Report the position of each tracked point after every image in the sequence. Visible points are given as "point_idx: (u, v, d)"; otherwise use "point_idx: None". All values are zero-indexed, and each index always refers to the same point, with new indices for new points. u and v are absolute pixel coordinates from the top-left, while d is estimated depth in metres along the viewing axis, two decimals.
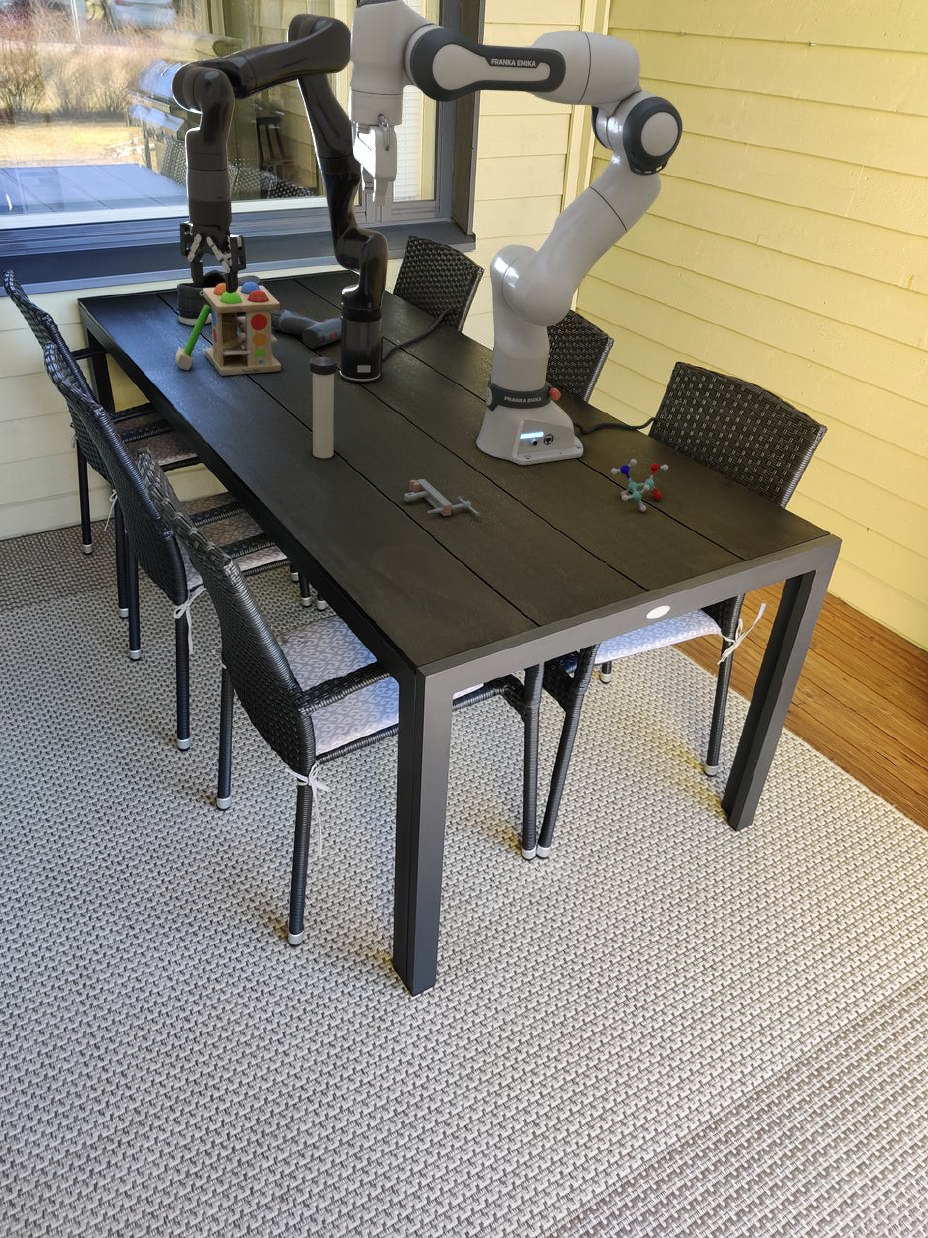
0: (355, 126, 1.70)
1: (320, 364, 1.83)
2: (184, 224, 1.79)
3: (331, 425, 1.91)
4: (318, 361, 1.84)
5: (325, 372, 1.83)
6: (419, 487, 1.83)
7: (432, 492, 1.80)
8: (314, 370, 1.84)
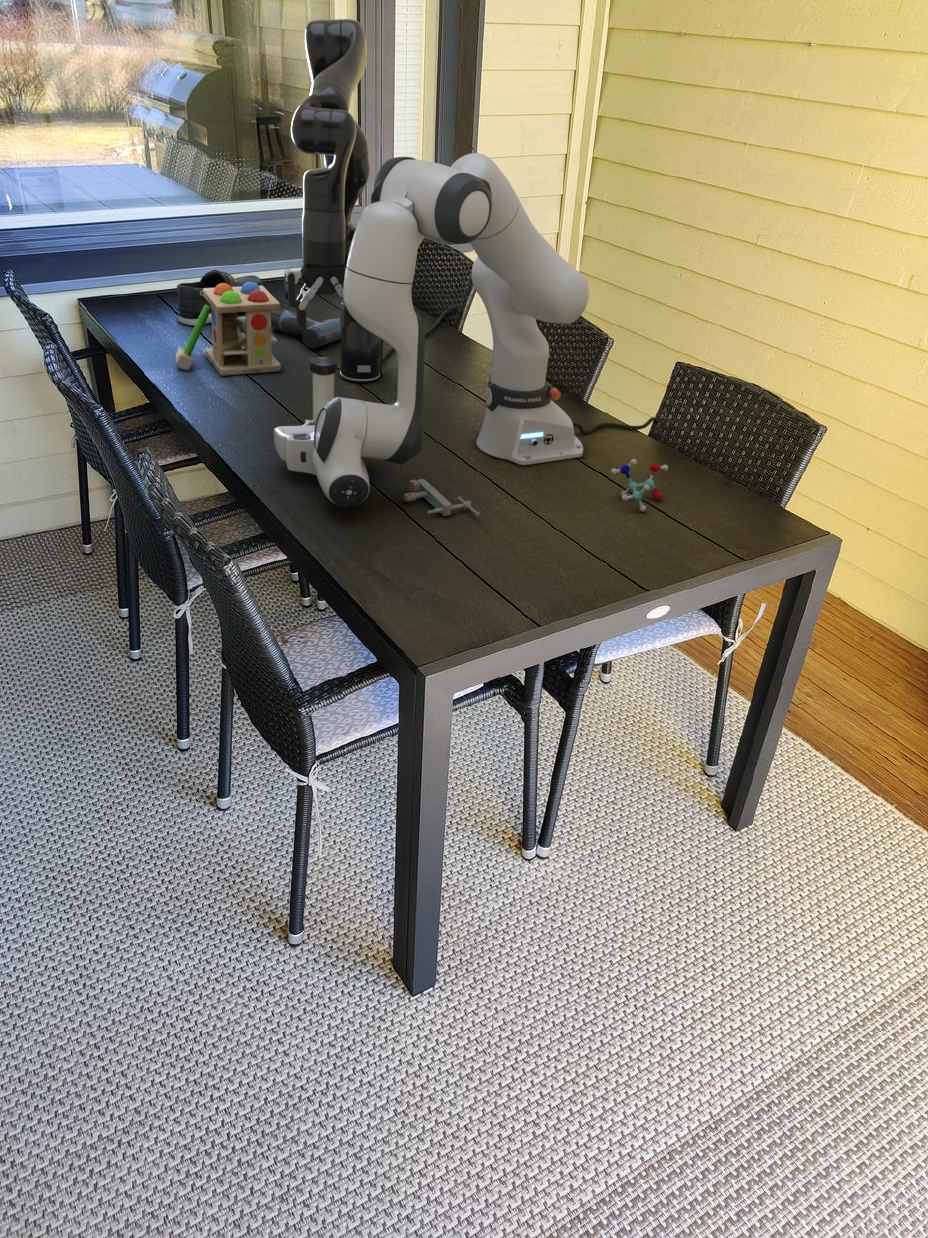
0: None
1: (320, 364, 1.83)
2: (293, 273, 1.72)
3: None
4: (318, 361, 1.84)
5: (325, 372, 1.83)
6: (419, 487, 1.83)
7: (432, 492, 1.80)
8: (314, 370, 1.84)
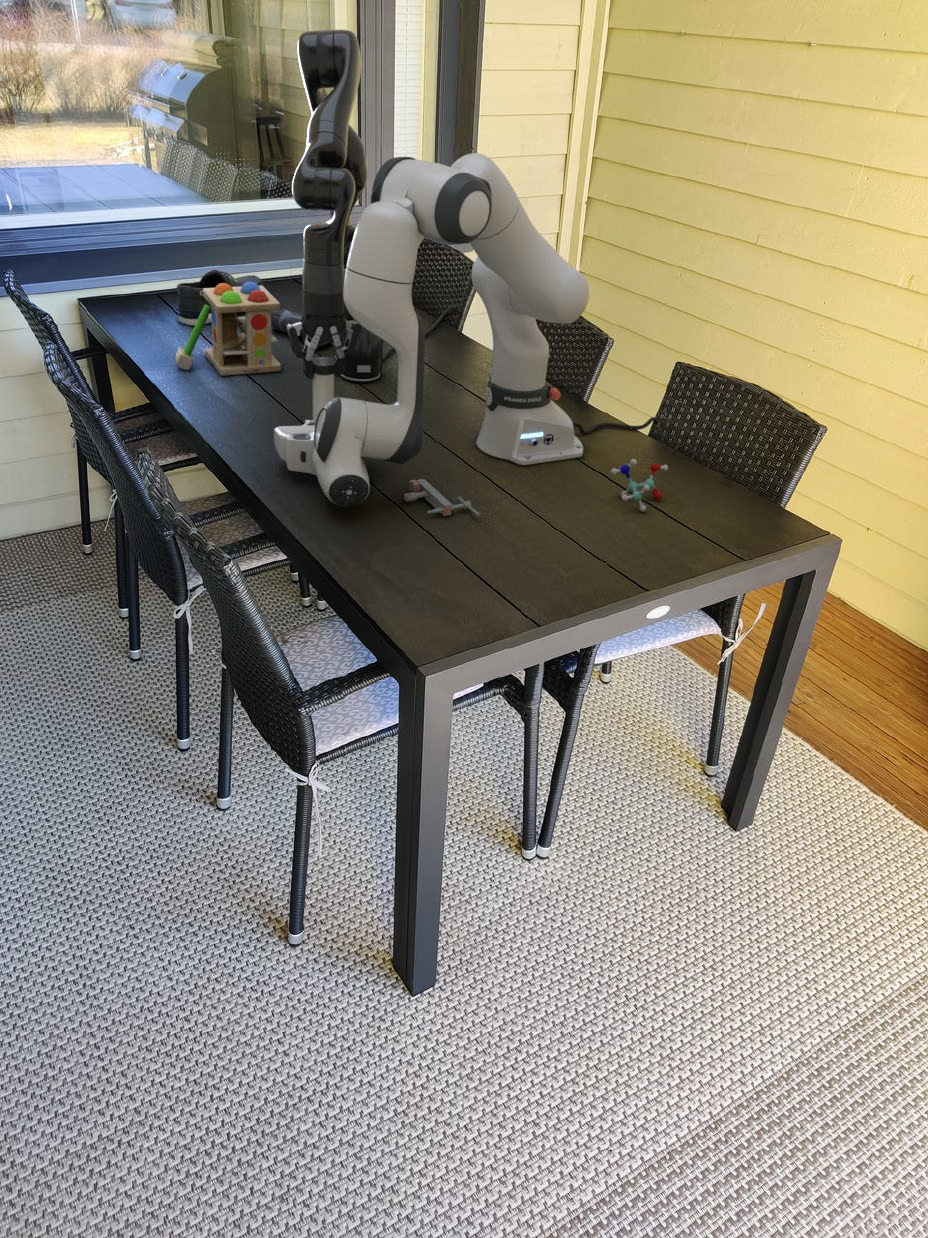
0: None
1: (320, 364, 1.83)
2: (293, 327, 1.78)
3: None
4: (318, 361, 1.84)
5: (325, 372, 1.83)
6: (419, 487, 1.83)
7: (432, 492, 1.80)
8: (314, 370, 1.84)
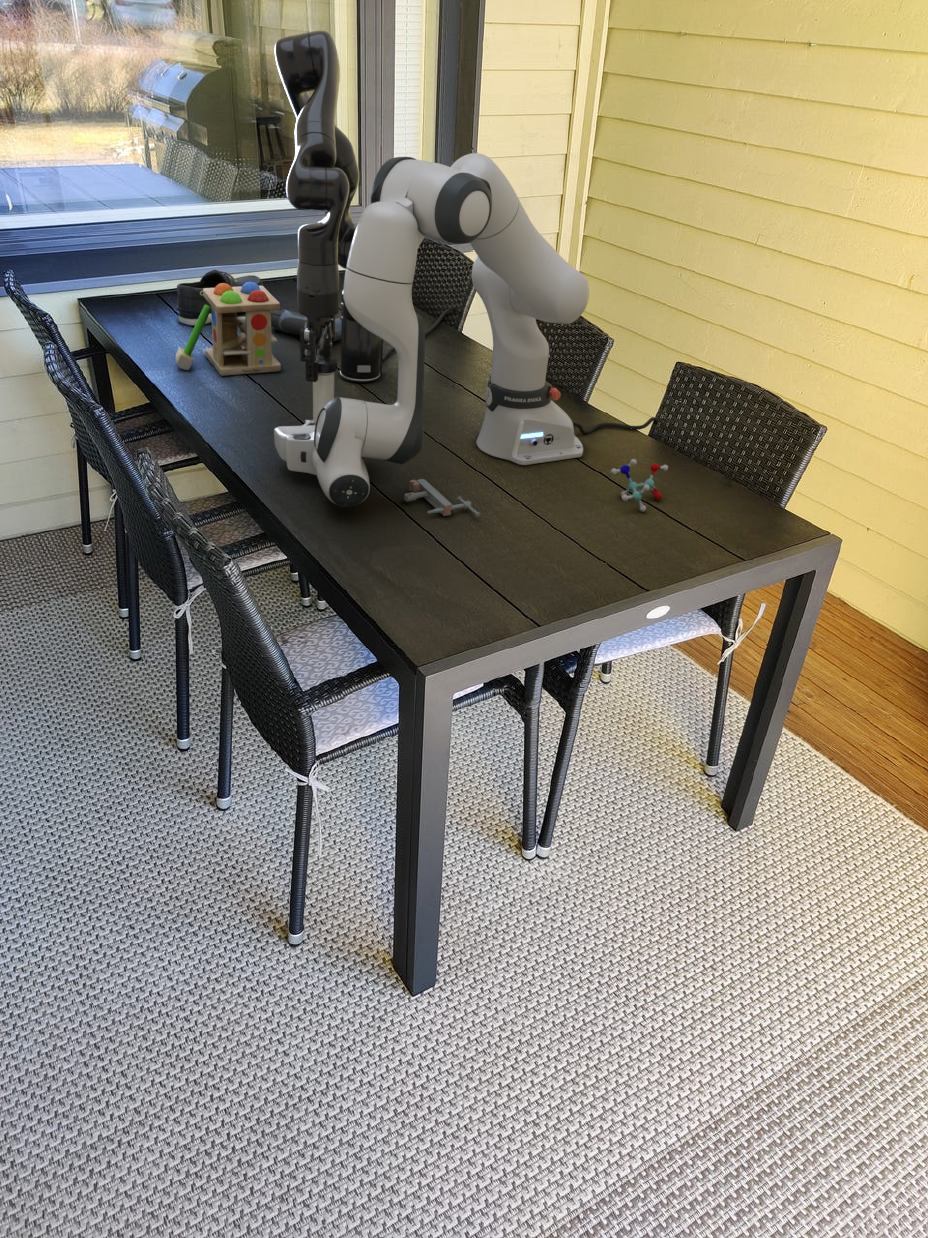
0: None
1: (333, 360, 1.85)
2: (313, 330, 1.76)
3: None
4: (326, 361, 1.84)
5: None
6: (419, 487, 1.83)
7: (432, 492, 1.80)
8: (335, 368, 1.84)
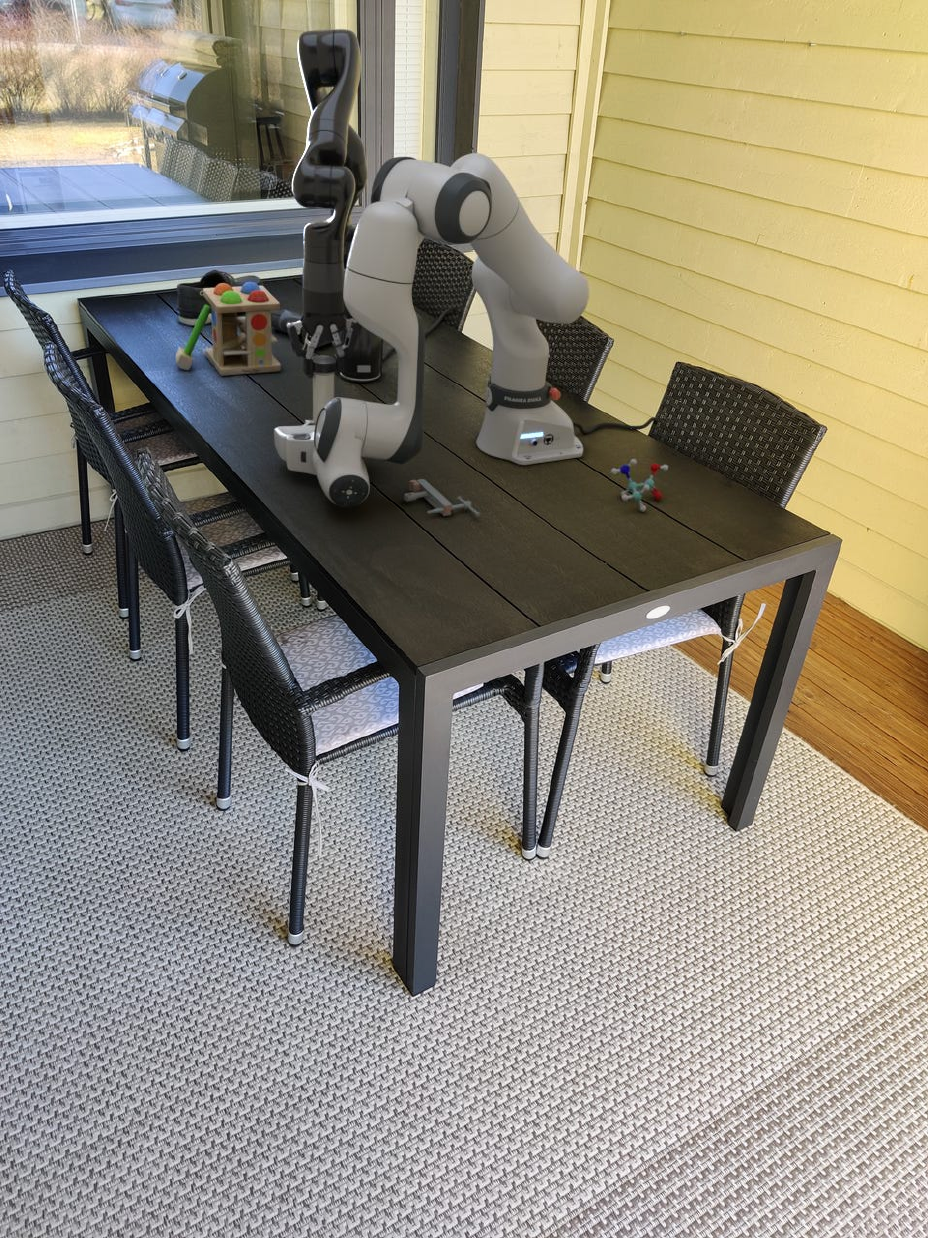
0: None
1: (333, 360, 1.85)
2: (293, 325, 1.78)
3: None
4: (326, 361, 1.84)
5: None
6: (419, 487, 1.83)
7: (432, 492, 1.80)
8: (335, 368, 1.84)
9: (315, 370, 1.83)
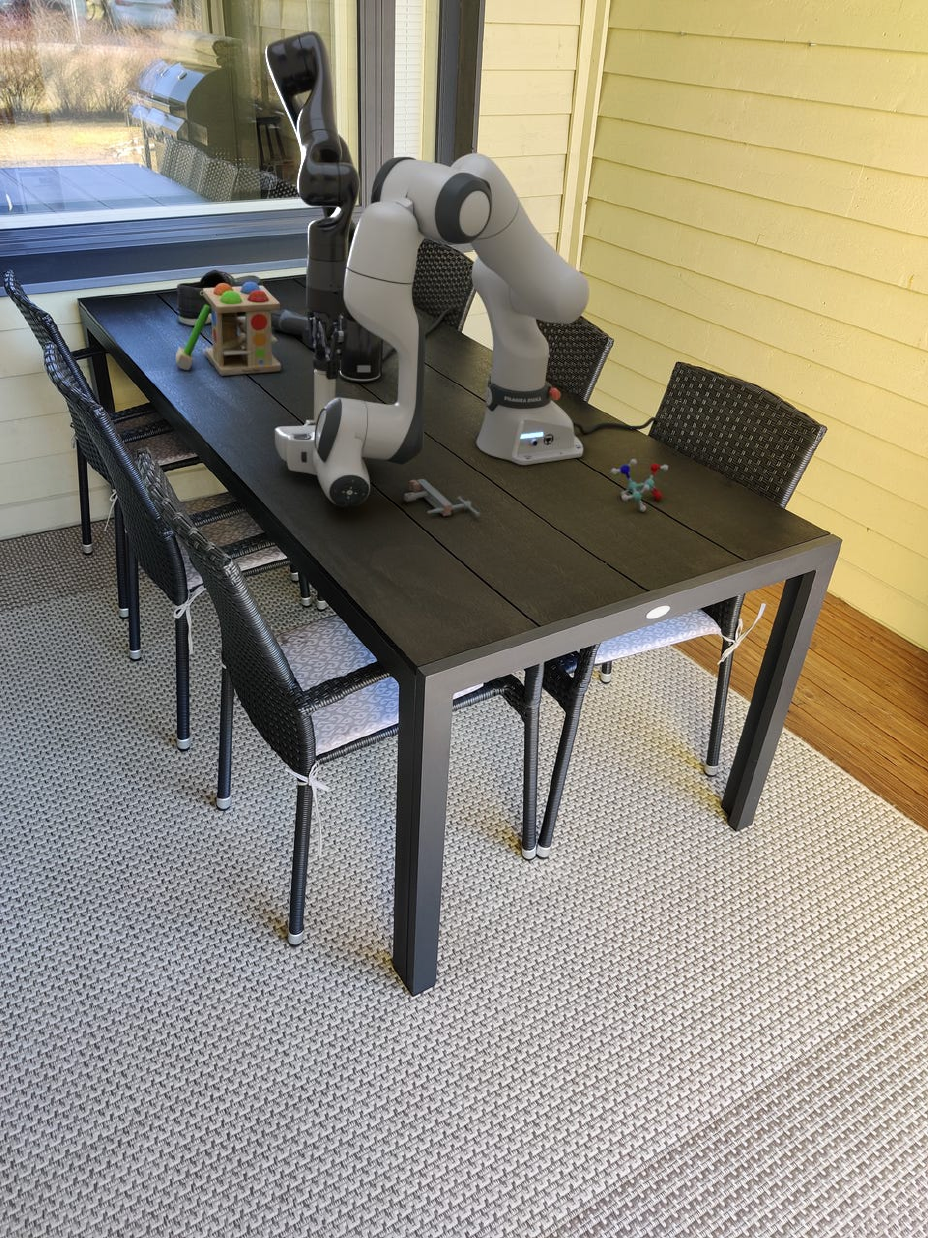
0: None
1: None
2: None
3: None
4: None
5: None
6: (419, 487, 1.83)
7: (432, 492, 1.80)
8: None
9: None
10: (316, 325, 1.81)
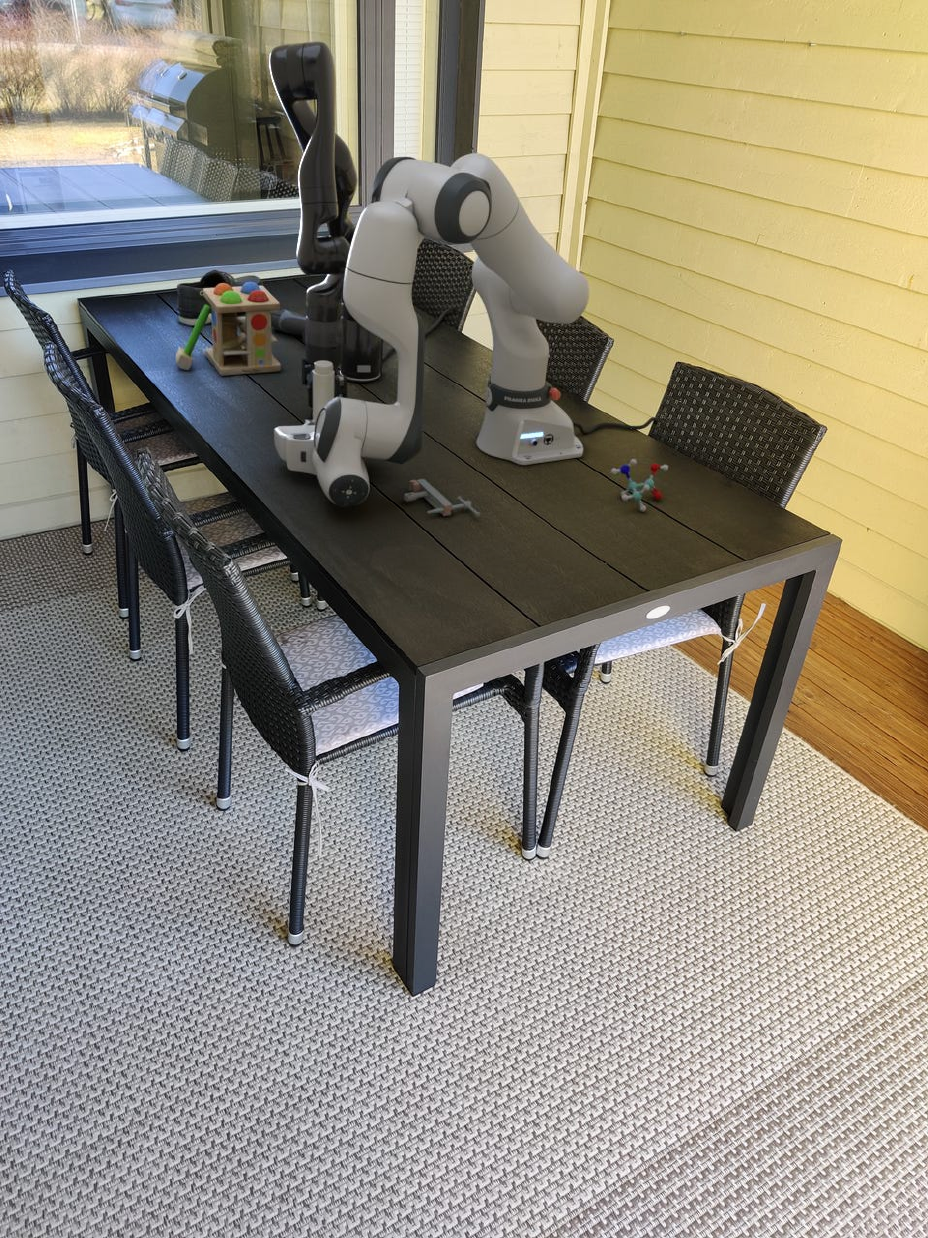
0: None
1: None
2: (343, 376, 2.00)
3: None
4: None
5: None
6: (419, 487, 1.83)
7: (432, 492, 1.80)
8: None
9: None
10: None
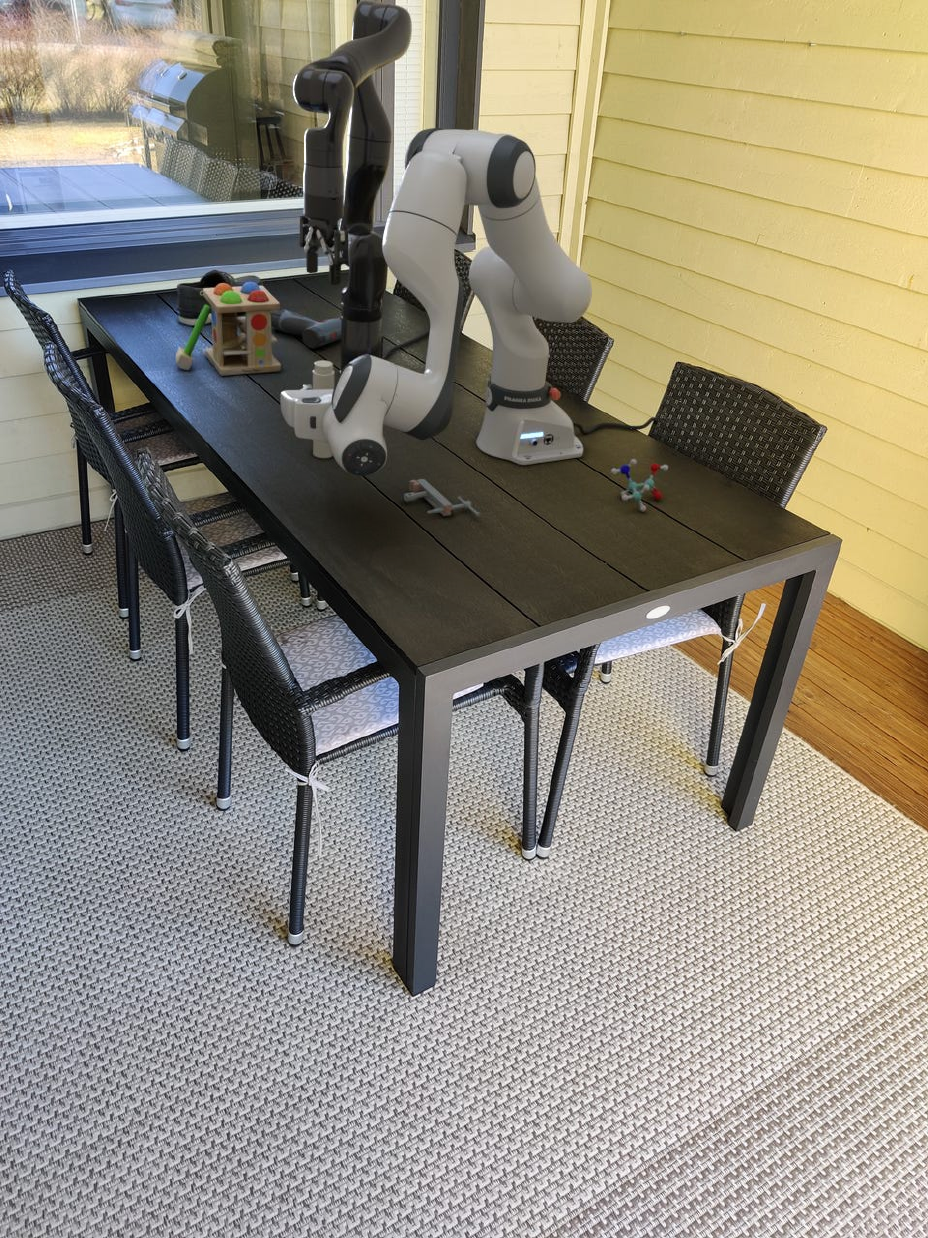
0: None
1: None
2: None
3: None
4: None
5: None
6: (419, 487, 1.83)
7: (432, 492, 1.80)
8: None
9: None
10: (312, 234, 1.88)
